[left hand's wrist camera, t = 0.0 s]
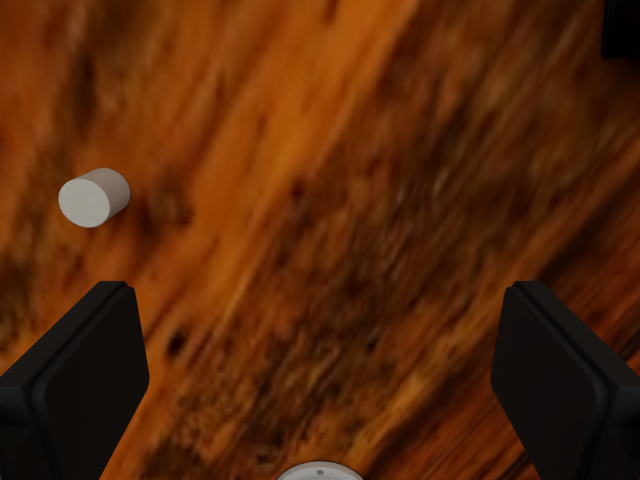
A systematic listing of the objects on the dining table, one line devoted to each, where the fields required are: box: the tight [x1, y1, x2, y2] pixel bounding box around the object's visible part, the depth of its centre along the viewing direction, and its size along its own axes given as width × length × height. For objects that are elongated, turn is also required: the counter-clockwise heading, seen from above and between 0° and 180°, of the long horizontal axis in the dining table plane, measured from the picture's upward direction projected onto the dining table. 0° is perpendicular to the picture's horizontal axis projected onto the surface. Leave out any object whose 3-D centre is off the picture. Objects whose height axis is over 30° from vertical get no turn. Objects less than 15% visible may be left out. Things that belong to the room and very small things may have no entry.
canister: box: [59, 168, 130, 227], centre depth 40 cm, size 4×4×4 cm
